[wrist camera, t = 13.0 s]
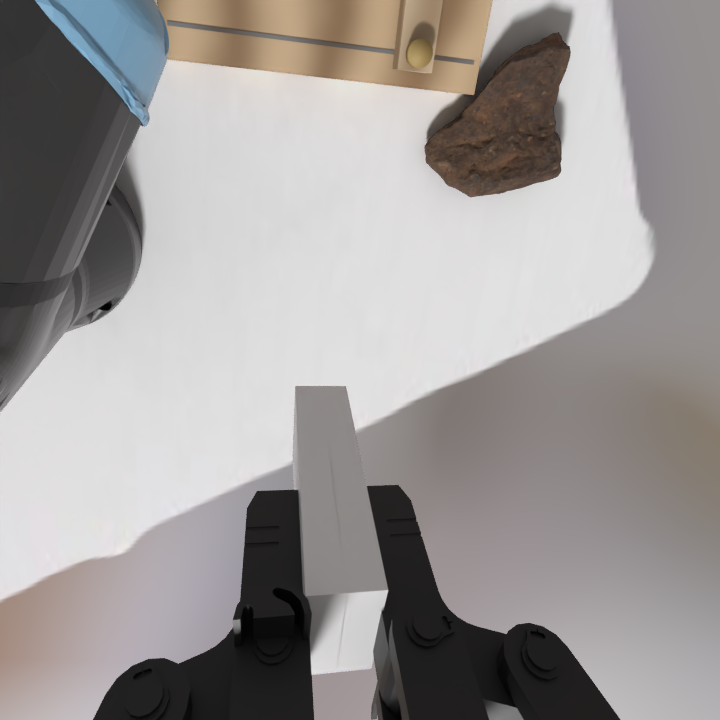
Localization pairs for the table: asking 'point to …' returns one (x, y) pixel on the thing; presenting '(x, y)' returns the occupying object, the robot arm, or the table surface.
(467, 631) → the robot arm
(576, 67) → the table surface
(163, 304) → the table surface
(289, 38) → the board
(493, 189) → the rock
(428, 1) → the block
